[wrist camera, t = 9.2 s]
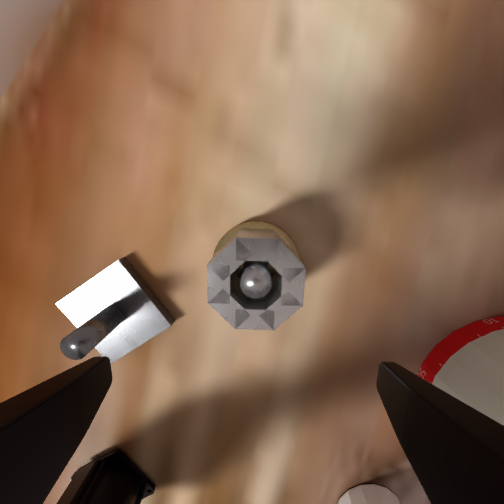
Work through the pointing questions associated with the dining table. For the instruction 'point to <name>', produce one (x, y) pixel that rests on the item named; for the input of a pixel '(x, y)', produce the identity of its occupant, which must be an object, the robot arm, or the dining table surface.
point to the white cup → (368, 495)
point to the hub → (256, 262)
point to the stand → (112, 314)
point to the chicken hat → (471, 366)
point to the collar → (228, 282)
